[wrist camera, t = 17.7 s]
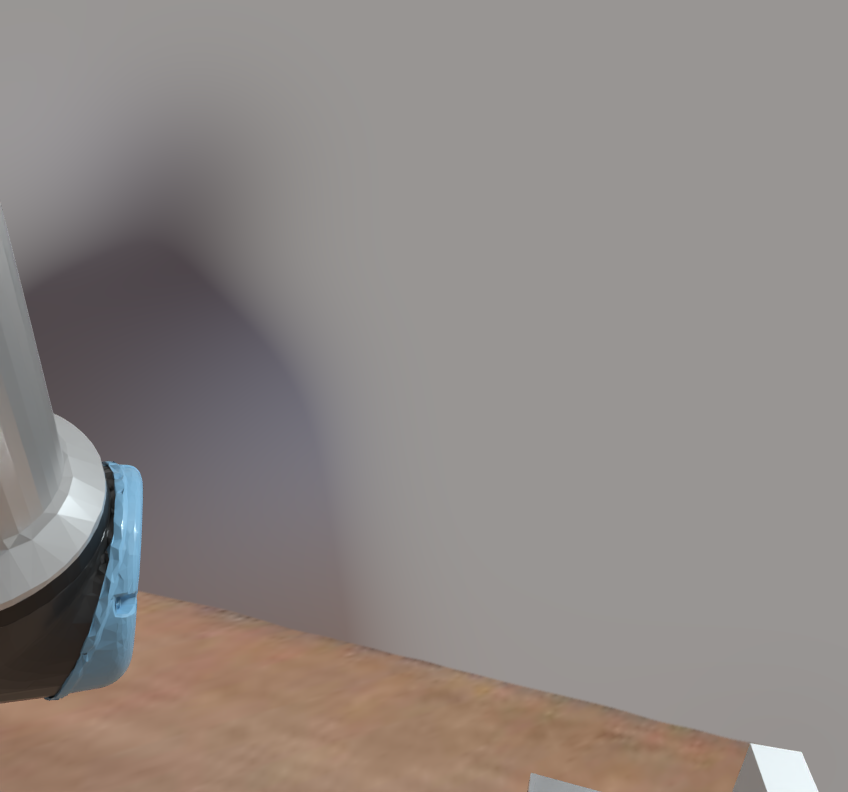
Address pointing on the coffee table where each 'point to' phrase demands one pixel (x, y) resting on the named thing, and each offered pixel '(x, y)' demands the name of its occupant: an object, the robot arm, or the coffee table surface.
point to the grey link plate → (553, 785)
